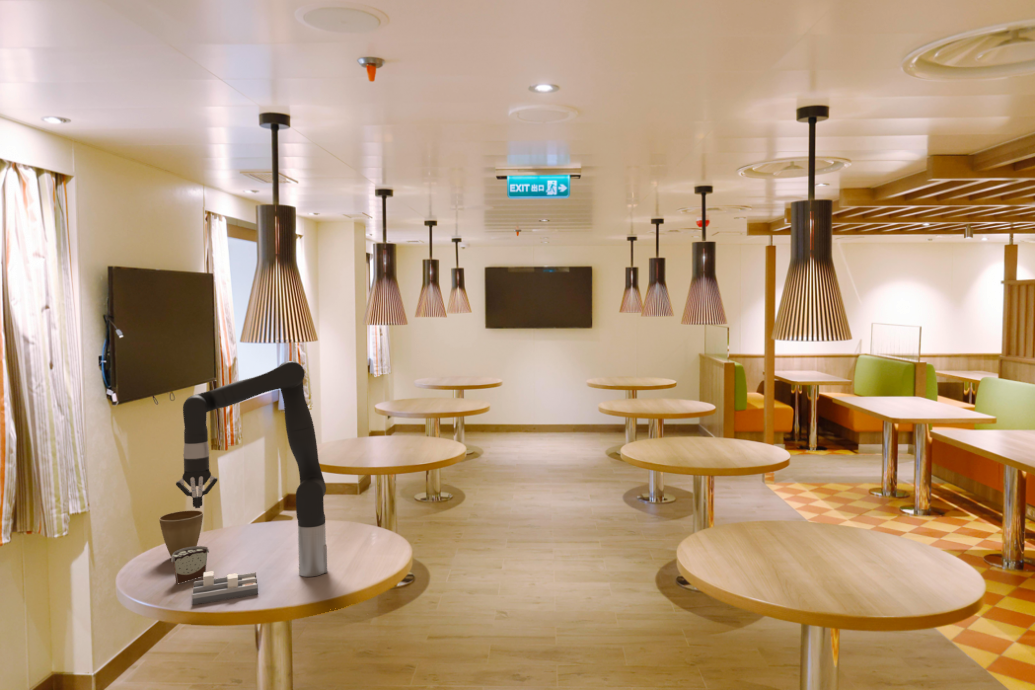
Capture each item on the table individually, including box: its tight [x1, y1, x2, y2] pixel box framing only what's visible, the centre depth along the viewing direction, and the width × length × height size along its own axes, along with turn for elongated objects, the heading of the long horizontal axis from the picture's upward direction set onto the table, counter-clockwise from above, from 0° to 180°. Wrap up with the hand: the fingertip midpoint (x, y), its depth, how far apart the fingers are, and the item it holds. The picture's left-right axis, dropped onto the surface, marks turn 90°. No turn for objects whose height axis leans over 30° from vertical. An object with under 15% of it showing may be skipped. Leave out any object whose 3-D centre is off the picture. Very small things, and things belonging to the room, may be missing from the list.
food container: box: [170, 545, 210, 585], centre depth 223 cm, size 12×6×10 cm, turn 141°
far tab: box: [202, 570, 215, 586], centre depth 210 cm, size 3×4×4 cm
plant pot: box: [158, 509, 204, 559], centre depth 245 cm, size 15×15×16 cm
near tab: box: [226, 572, 239, 588], centre depth 208 cm, size 3×4×4 cm
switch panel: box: [191, 572, 259, 605], centre depth 210 cm, size 19×12×3 cm, turn 115°
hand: (197, 507), depth 213 cm, fingers closed
